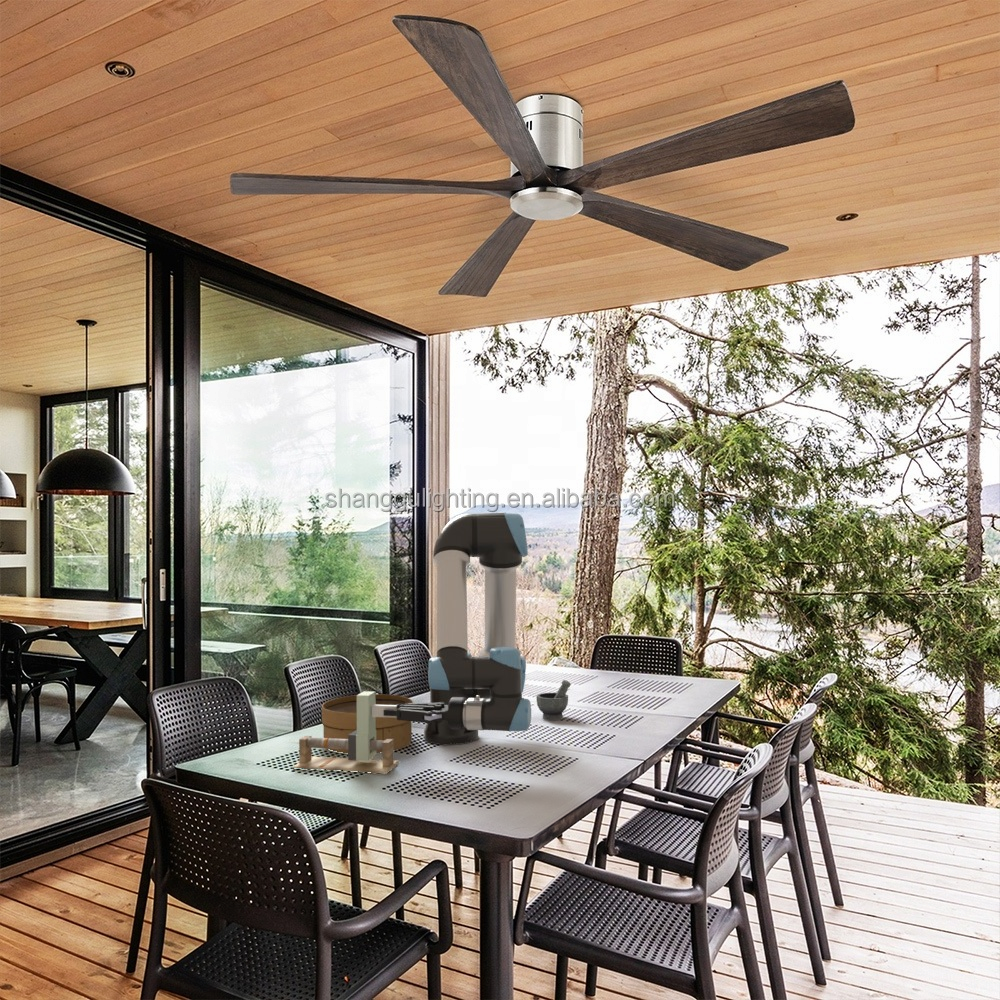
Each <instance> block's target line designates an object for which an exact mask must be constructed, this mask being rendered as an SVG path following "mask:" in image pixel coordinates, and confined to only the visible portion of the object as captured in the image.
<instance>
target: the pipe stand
mask: <svg viewBox="0 0 1000 1000" xmlns="http://www.w3.org/2000/svg"><path fill="white" fill-rule="evenodd" d="M298 740H299V742H298V743H299V744H298V745H299V747H298V750H299V752H298V753H299V754H298V757H299V758H298V763H297V764H295V765H293V766H292V769H293V768H304V769H326V770H343V771H359V772H371V773H386V774H385V775H388V774H389V773H390V772H391V771H392V770H393V769H395V768H396V767H397V766H396V765H399V763H400V760H398V759H397V760H396V759H394V757H395V756H394V754H395V753H394V752H395V751H394V739H386V740H370V750H377V751H382V753H381V754H382V759H379V758H378V759H373V758H371V759H370V760H368V761H358V760H348V757H329V756H327V757H326V756H312V748H314V749H326V750H327V749H348V739H333V738H324V737H312V735H304V736H303V737H301V738H299V739H298ZM391 769H392V770H391ZM390 770H391V771H390ZM389 771H390V772H389ZM388 772H389V773H388ZM371 773H370V774H371ZM387 773H388V774H387Z"/></svg>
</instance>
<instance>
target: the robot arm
mask: <svg viewBox="0 0 1000 1000" xmlns="http://www.w3.org/2000/svg"><path fill="white" fill-rule="evenodd" d="M528 549H529V548H528V540H527V533H526V528H525V522H524V518H523V517H522V515H521V514H519V513H511V512H492V513H488V512H487V513H485V512H484V513H470V512H468V513H463V514H459V515H457V516H455V517H453V518H452V519H450V521H448V523H446V524H445V525H444V527H443V528H442V529H441V531H440V533H438V536H437V539H436V541H435V543H434V547H433V551H432V552H433V556H432V557H433V560H432V561H433V564H434V566H435V567H436V571H437V572H436V656H434V657H430V658H429V660H428V668H427V669H428V674H427V677H428V685H429V689H430V690H429V691H430V693H429V696H430V698H429V699H430V700H429V701H430V702H413V703H405V705H403V704H402V705H400V704H397V705H377V704H374V705H372V717H392V718H397V720H403V721H411V722H414V723H415V722H416V723H423V724H425V728H424V732H423V735H424V737H423V740H424V741H425V742H427V743H430V744H435V745H436V744H437V745H449V746H450V745H463V744H467V743H473V742H474V741H476V740H478V739H479V731H498V732H499V731H500V732H509V733H510V732H525V731H528V730H529V728H530V727H531V722H532V707H531V706H532V704H531V701H530V699H529V698H524V697H523V692H524V688H525V685H526V669H527V665H526V664H527V662H526V658H525V657H524V656H522V655H521V654H522V653H521V651H520V649H519V648H518V647H516V625H517V623H516V621H517V618H516V616H517V611H516V610H517V569H518V568H519V567H520V566H521V565H522V564H523V558H526V557H528V553H529V552H528ZM471 558H478V564H479V565H481V566H482V568H484V646H483V647H482V648H481V649H480V650H479V654H478V656H473V654H471V652H469V651H468V650H469V647H468V645H469V644H468V643H469V642H468V639H469V638H468V591H467V586H468V585H467V567H468V565H470V563H471Z"/></svg>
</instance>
